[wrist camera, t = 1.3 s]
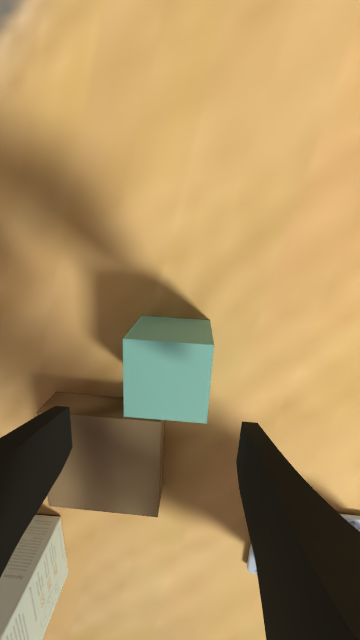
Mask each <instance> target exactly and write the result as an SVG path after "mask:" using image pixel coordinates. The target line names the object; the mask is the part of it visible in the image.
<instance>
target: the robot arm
mask: <svg viewBox="0 0 360 640" xmlns="http://www.w3.org/2000/svg"><path fill="white" fill-rule="evenodd" d="M72 447H73V446H72V433H71V421H70V408H69V407H64V406H54V407H52V408H50V409H48V410H47V411H45V412H43V413H42V414H40V415H38V416H37V417H35V418H33V419H32V420H30V421H28V422H27V423H25V424H23V425H22V426H20V427H18V428H17V429H15V430H13V431H12V432H10V433H8V434H6V435H5V436H3V437H1V438H0V578H1V576H2V574H3V572H4V570H5V568H6V566H7V564H8V562H9V560H10V558H11V556H12V554H13V552H14V550H15V548H16V546H17V544H18V543H19V541H20V539H21V537H22V536H23V534H24V532H25V530H26V529H27V527H28V526H29V524H30V522H31V521H32V519H33V517H34V516H35V514H36V513H37V511H38V509H39V508H40V506H41V504H42V503H43V501H44V500H45V498H46V496H47V495H48V493H49V491H50V490H51V488H52V486H53V485H54V483H55V481H56V480H57V478H58V476H59V475H60V473H61V471H62V469H63V467H64V465H65V463H66V461H67V459H68V456H69V454H70V452H71V450H72ZM236 463H237V472H238V481H239V489H240V494H241V499H242V503H243V508H244V513H245V517H246V522H247V526H248V531H249V535H250V540H251V544H250V550H249V556H248V562H247V569H248V571H249V572H250V573H254V574H258V581H259V588H260V595H261V602H262V609H263V617H264V624H265V632H266V640H360V516H357V515H347V514H339V513H338V512H337V511H336V510H335V509H334V508H332V507H331V506H330V505H329V504H328V503H327V502H326V501H325V500H324V499H323V498H322V497H321V496H320V495H319V494H318V493H317V492H316V491H315V490H314V489H313V488H312V487H311V486H310V485H309V484H308V483H307V482H306V481H305V480H304V479H303V478H302V477H301V475H300V474H299V473H298V472H297V471H296V470H295V469H294V468H293V466H292V465H291V464H290V463H289V462H288V461H287V459H286V458H285V457H284V456H283V455H282V453H281V452H280V451H279V450H278V449H277V447H276V446H275V445H274V444H273V442H272V441H271V440H270V438H269V437H268V436H267V435H266V433H265V432H264V431H263V429H262V428H261V427H260V426H259V424H258V423H252V422H242V426H241V433H240V440H239V448H238V455H237V462H236Z"/></svg>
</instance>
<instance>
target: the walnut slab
mask: <svg viewBox="0 0 360 640" xmlns="http://www.w3.org/2000/svg"><path fill="white" fill-rule="evenodd" d="M54 406H64V407H69V408H70V421H71V433H72V446H73V447H72V450H71V452H70V454H69V456H68V459H67V461H66V463H65V465H64V467H63V469H62V471H61V473H60V475H59V476H58V478H57V480H56V481H55V483H54V485H53V486H52V488H51V490H50V491H49V493H48V503H49V506H54V507H64V508H73V509H83V510H93V511H103V512H112V513H122V514H132V515H141V516H151V517H158V511H159V505H160V498H161V491H162V472H163V445H164V420H159V419H147V418H135V417H124V398H121V397H109V396H97V395H84V394H72V393H60V392H56V393H55V394H54V395H53V396H52V397H51V398H50V399H49V400H48V401H47V402H46V403H45V404H44V405H43V406H42V407H41V408H40V410H39V411H38V412H37V413H38V415H40V414H42V413H43V412H45V411H47V410H48V409H50V408H52V407H54Z"/></svg>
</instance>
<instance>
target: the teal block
mask: <svg viewBox="0 0 360 640" xmlns="http://www.w3.org/2000/svg"><path fill="white" fill-rule="evenodd" d="M213 351H214V342H213V336H212V330H211V324H210V320H202V319H187V318H172V317H156V316H141V317H140V318H139V319H138V320H137V322H136V323H135V324H134V325H133V327H132V328H131V329H130V330H129V332H128V333H127V334H126V335H125V337H124V338H123V394H124V417H135V418H147V419H159V420H170V421H182V422H194V423H206V424H207V416H208V405H209V394H210V383H211V373H212V362H213Z"/></svg>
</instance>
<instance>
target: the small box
mask: <svg viewBox="0 0 360 640" xmlns="http://www.w3.org/2000/svg"><path fill="white" fill-rule="evenodd" d="M67 575H68V565H67V559H66V551H65V545H64V537H63V531H62V524H61V517H60V516H46V515H35V516H34V517H33V519H32V521H31V522H30V524H29V526H28V527H27V529H26V530H25V532H24V534H23V536H22V537H21V539H20V541H19V543H18V544H17V546H16V548H15V550H14V552H13V554H12V556H11V558H10V560H9V562H8V564H7V566H6V568H5V570H4V572H3V574H2V576H1V578H0V640H42V639H43V636H44V634H45V631H46V629H47V626H48V623H49V621H50V618H51V616H52V613H53V611H54V608H55V605H56V603H57V600H58V598H59V595H60V593H61V590H62V587H63V585H64V582H65V580H66V577H67Z"/></svg>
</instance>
